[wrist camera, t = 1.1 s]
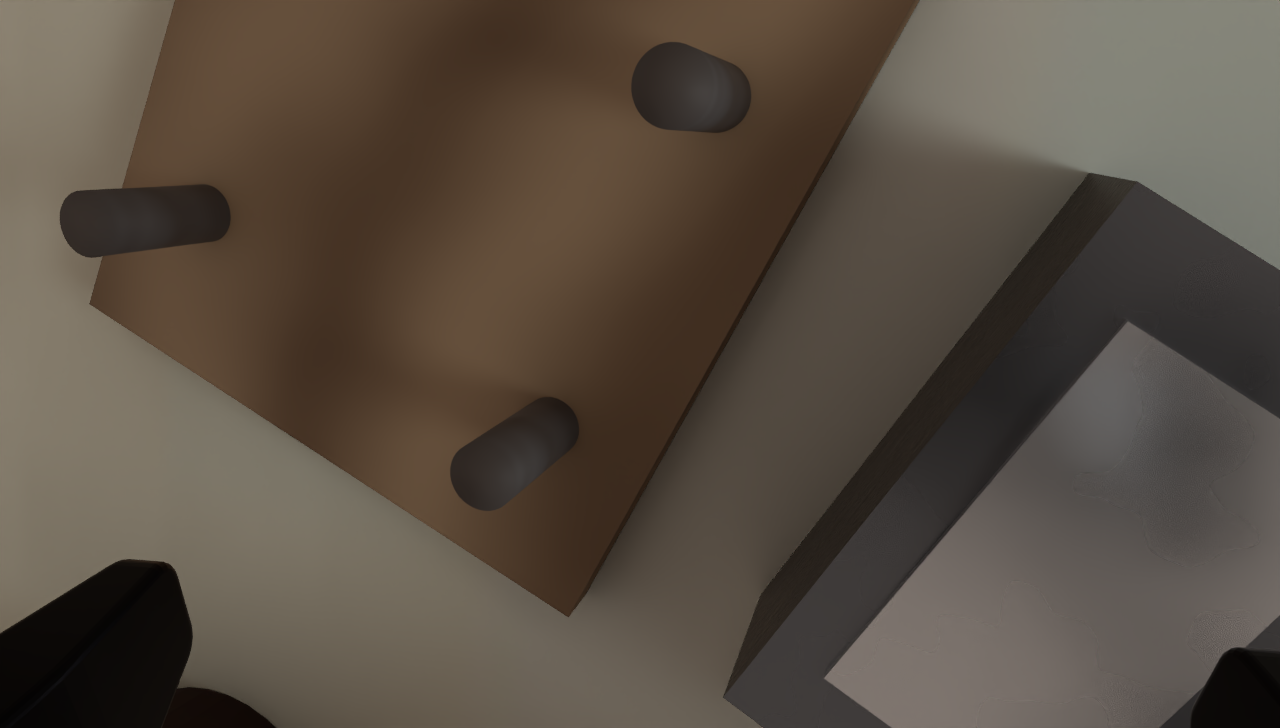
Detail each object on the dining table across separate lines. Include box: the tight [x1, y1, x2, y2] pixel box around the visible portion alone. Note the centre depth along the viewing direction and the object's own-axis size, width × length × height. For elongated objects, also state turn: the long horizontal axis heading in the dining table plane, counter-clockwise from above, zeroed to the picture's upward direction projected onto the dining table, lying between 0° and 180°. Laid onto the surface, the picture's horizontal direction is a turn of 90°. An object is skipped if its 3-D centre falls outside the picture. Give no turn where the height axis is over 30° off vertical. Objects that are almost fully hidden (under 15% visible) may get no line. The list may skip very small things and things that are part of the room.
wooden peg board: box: [60, 0, 919, 617], centre depth 17 cm, size 13×14×4 cm
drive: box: [723, 173, 1280, 728], centre depth 15 cm, size 6×10×4 cm, turn 149°
